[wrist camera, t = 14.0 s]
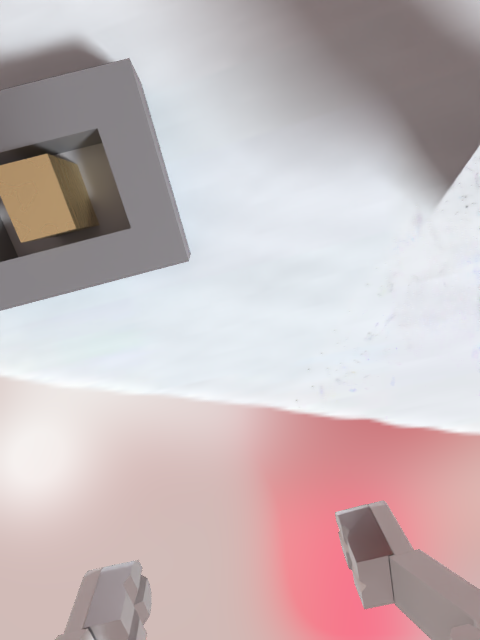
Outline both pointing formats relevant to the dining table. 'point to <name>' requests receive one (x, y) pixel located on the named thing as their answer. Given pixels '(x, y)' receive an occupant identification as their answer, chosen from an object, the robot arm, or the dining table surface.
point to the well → (90, 183)
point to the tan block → (45, 197)
